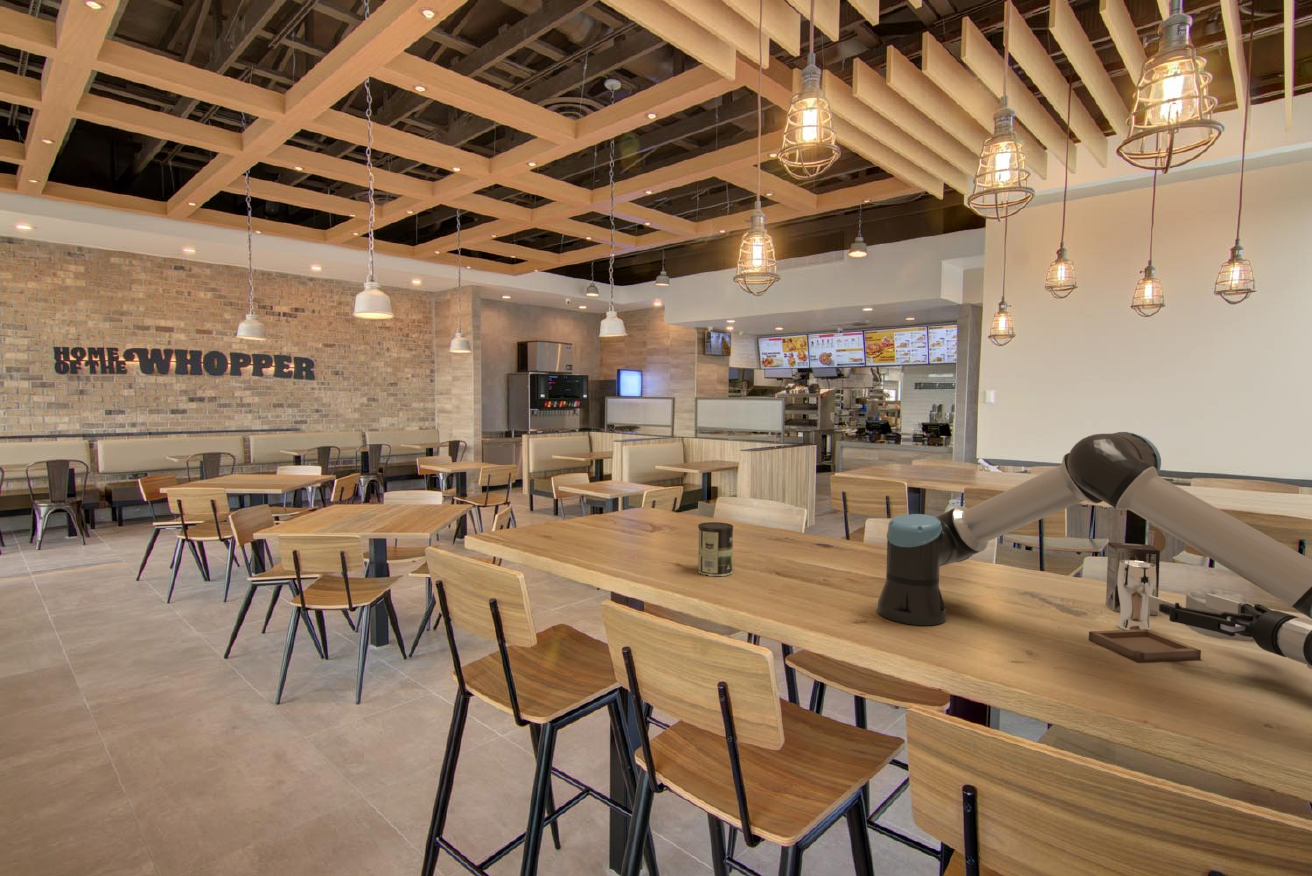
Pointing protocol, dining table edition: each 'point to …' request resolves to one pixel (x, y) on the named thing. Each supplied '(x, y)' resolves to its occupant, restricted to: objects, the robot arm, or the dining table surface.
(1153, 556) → the coffee box
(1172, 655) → the tray
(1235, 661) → the dining table surface
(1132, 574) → the beer glass
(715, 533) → the coffee can
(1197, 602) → the lumpy-topped squat cylinder
